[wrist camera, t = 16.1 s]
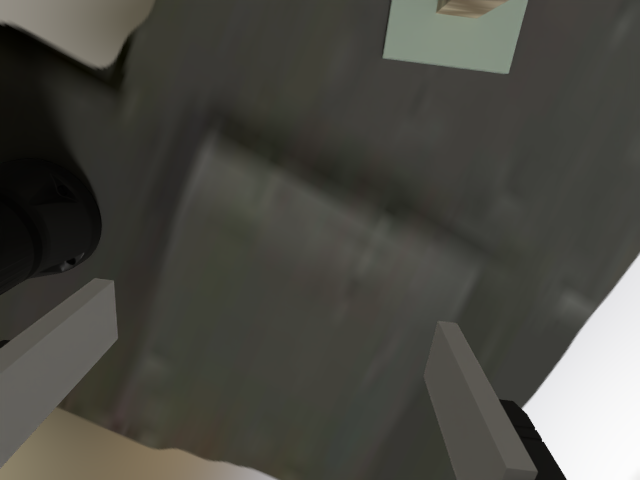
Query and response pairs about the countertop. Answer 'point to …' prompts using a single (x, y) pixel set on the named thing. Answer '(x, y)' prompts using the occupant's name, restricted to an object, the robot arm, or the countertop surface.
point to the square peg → (467, 7)
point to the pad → (453, 36)
